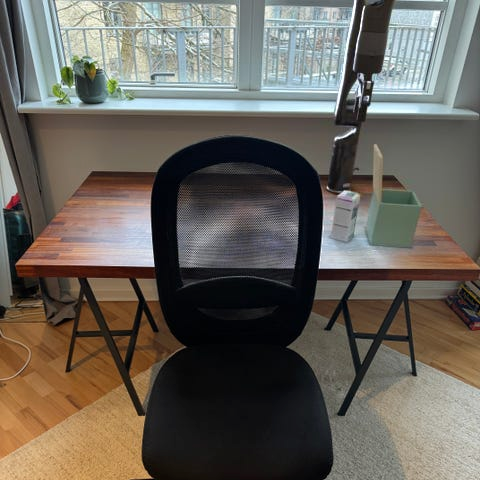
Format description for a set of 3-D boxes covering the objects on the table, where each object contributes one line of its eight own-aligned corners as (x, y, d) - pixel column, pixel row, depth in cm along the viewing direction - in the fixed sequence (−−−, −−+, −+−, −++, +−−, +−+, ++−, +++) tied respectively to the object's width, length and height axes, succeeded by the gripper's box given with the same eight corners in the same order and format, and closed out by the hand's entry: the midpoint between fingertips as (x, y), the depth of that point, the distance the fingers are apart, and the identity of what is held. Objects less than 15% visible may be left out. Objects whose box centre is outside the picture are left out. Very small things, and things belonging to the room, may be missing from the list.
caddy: (403, 230, 153) (413, 190, 145) (410, 247, 143) (422, 206, 135) (365, 227, 154) (373, 188, 146) (370, 245, 144) (379, 203, 136)
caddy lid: (376, 144, 138) (373, 144, 138) (382, 157, 128) (380, 157, 128) (375, 186, 146) (372, 187, 146) (381, 202, 136) (378, 202, 136)
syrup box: (347, 242, 145) (355, 199, 136) (329, 237, 147) (336, 194, 139) (353, 236, 149) (361, 193, 140) (336, 231, 151) (343, 189, 143)
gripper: (352, 47, 124) (343, 111, 134) (358, 54, 113) (347, 123, 123) (380, 48, 124) (369, 112, 133) (389, 56, 112) (376, 125, 122)
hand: (358, 117), depth 128 cm, fingers open, 8 cm apart
